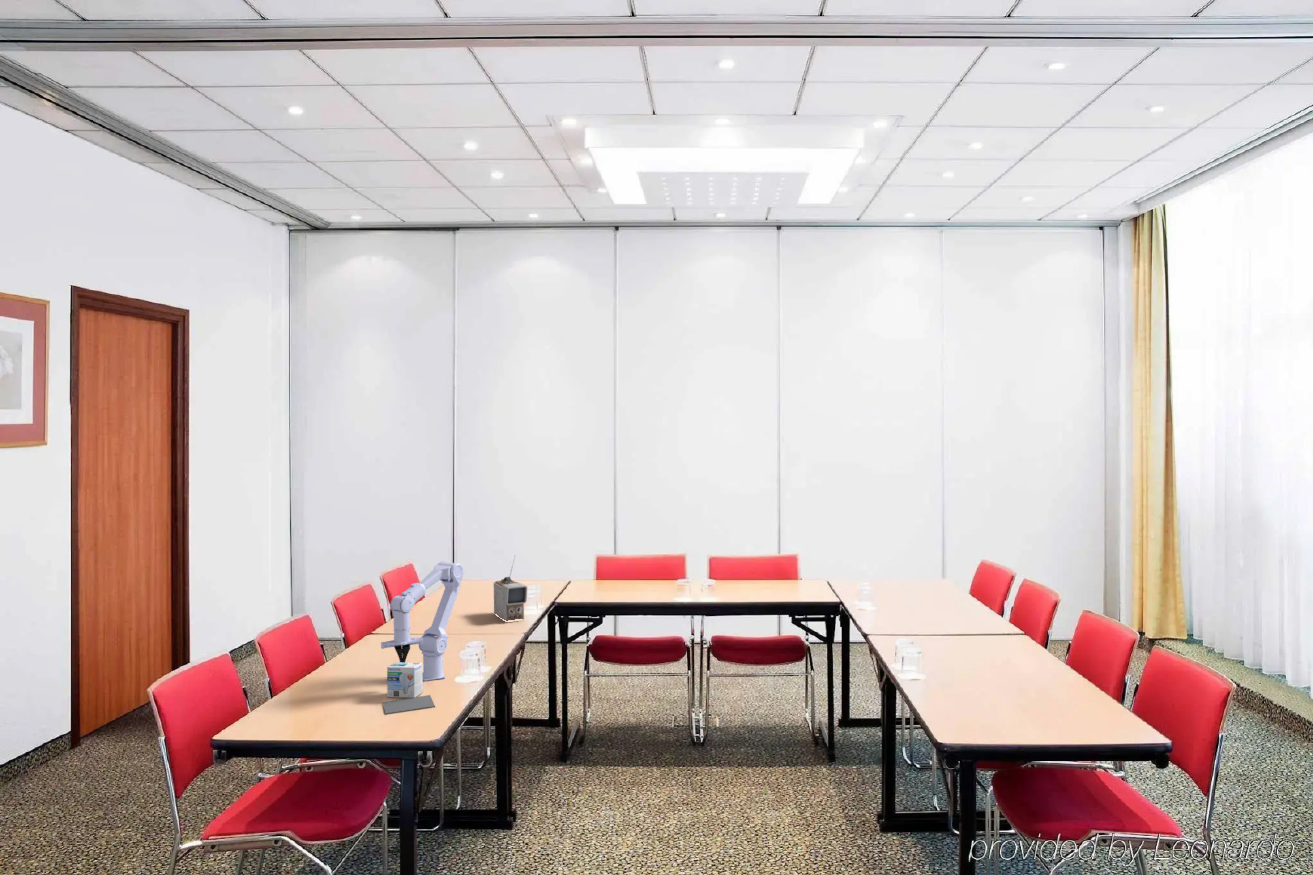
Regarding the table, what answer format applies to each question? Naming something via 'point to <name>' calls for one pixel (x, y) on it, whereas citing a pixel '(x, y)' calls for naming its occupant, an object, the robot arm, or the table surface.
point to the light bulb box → (404, 680)
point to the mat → (408, 704)
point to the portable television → (509, 598)
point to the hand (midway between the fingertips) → (402, 665)
